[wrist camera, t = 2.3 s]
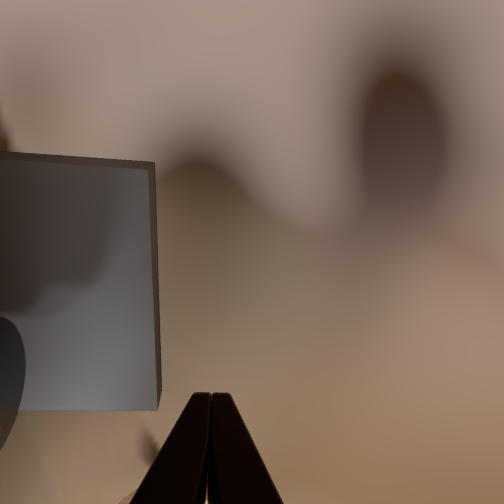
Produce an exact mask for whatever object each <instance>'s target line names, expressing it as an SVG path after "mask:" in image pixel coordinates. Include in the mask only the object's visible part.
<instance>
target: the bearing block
mask: <svg viewBox="0 0 504 504" xmlns="http://www.w3.org/2000/svg"><path fill="white" fill-rule="evenodd" d="M155 183H156V182H155V162H145V161H132V160H118V159H103V158H90V157H75V156H62V155H47V154H34V153H20V152H6V151H0V316H2V317H4V318H7V319H8V320H10V321H11V322H12V323H13V324H14V325H15V326H16V328H17V329H18V331H19V333H20V335H21V337H22V340H23V344H24V349H25V358H26V372H25V382H24V389H23V394H22V398H21V402H20V406H19V409H18V410H57V411H157V410H158V406H159V402H160V397H161V391H162V377H161V345H160V314H159V313H160V312H159V279H158V248H157V247H158V246H157V214H156V184H155Z"/></svg>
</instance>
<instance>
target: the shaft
mask: <svg viewBox="0 0 504 504" xmlns="http://www.w3.org/2000/svg"><path fill="white" fill-rule="evenodd" d="M25 372H26V358H25V349H24V344H23V340H22V337H21V335H20V333H19V331H18V329H17V328H16V326H15V325H14V324H13V323H12V322H11V321H10V320H8V319H7V318H4V317H2V316H0V450H1V448H2V447H3V445H4V443H5V441H6V439H7V437H8V435H9V433H10V431H11V428H12V426H13V424H14V421H15V418H16V416H17V413H18V409H19V406H20V402H21V398H22V394H23V389H24V382H25Z"/></svg>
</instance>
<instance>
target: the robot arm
mask: <svg viewBox="0 0 504 504" xmlns="http://www.w3.org/2000/svg"><path fill="white" fill-rule="evenodd" d="M208 460H209V462H208ZM207 479H208V484H207ZM206 495H207V504H284V503H283V501H282V499H281V497H280V495H279V493H278V491H277V489H276V487H275V485H274V483H273V481H272V479H271V477H270V475H269V472H268V470H267V468H266V466H265V464H264V462H263V460H262V458H261V456H260V454H259V452H258V450H257V448H256V446H255V444H254V442H253V440H252V438H251V436H250V433H249V431H248V429H247V427H246V425H245V423H244V421H243V419H242V417H241V415H240V413H239V411H238V409H237V407H236V405H235V403H234V401H233V399H232V397H231V395H230V394H229V393H217V392H216V393H213V394H212V399H211V394H210V393H209V392H195V393H194V394H193V395H192V396H191V398H190V399H189V401H188V403H187V405H186V406H185V408H184V410H183V411H182V413H181V415H180V417H179V419H178V420H177V422H176V424H175V425H174V427H173V429H172V430H171V433H170V434H169V436H168V437H167V439H166V441H165V443H164V444H163V446H162V448H161V449H160V451H159V453H158V455H157V456H156V458H155V460H154V462H153V463H152V465H151V467H150V468H149V470H148V472H147V474H146V475H145V477H144V479H143V480H142V482H141V484H140V486H139V487H138V489H137V491H136V493H135V494H134V496H133V498H132V499H131V501H130V503H129V504H206Z"/></svg>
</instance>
